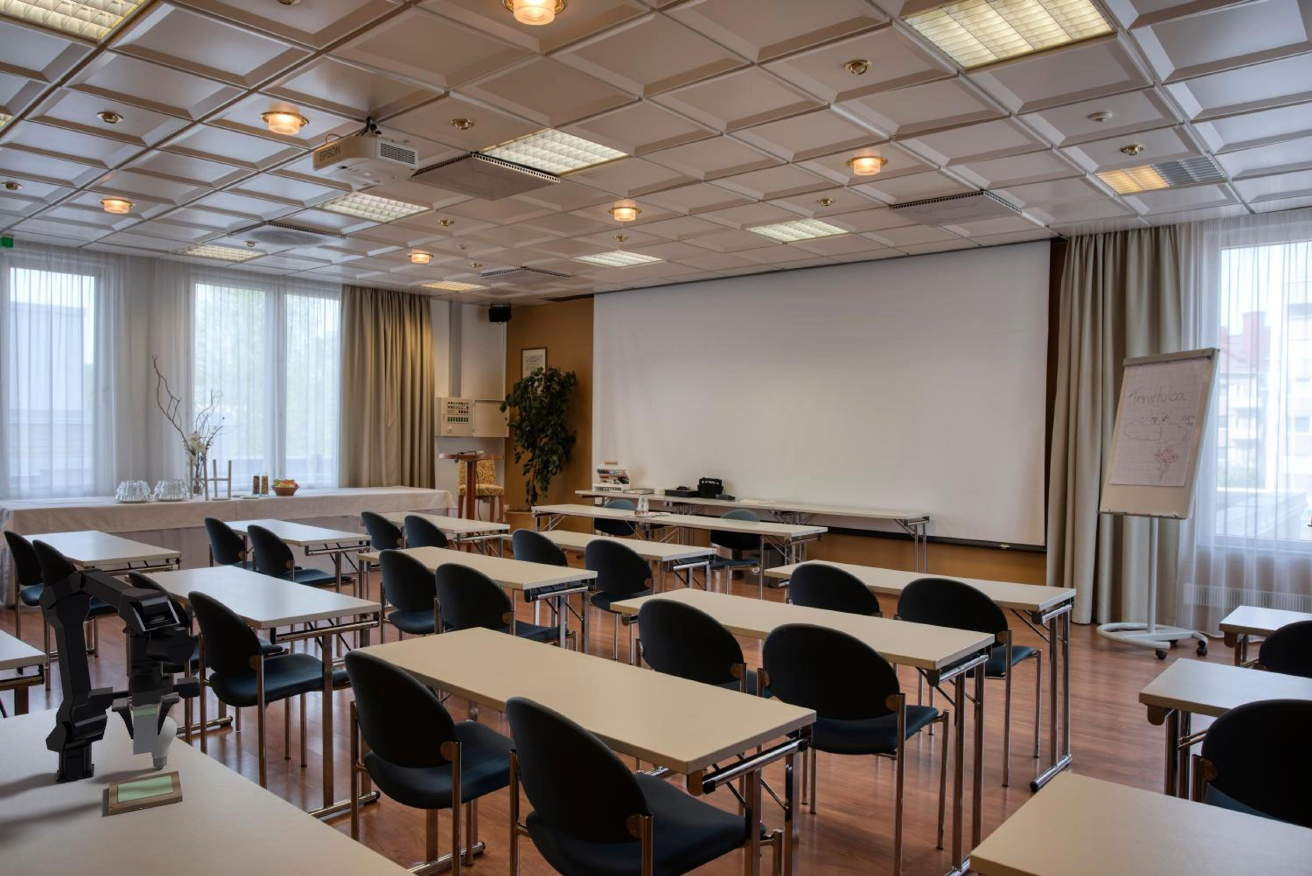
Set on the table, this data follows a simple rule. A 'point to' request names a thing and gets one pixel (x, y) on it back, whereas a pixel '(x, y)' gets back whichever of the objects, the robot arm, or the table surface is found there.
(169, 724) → the lightbulb
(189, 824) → the table surface
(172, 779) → the stand plate
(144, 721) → the column
